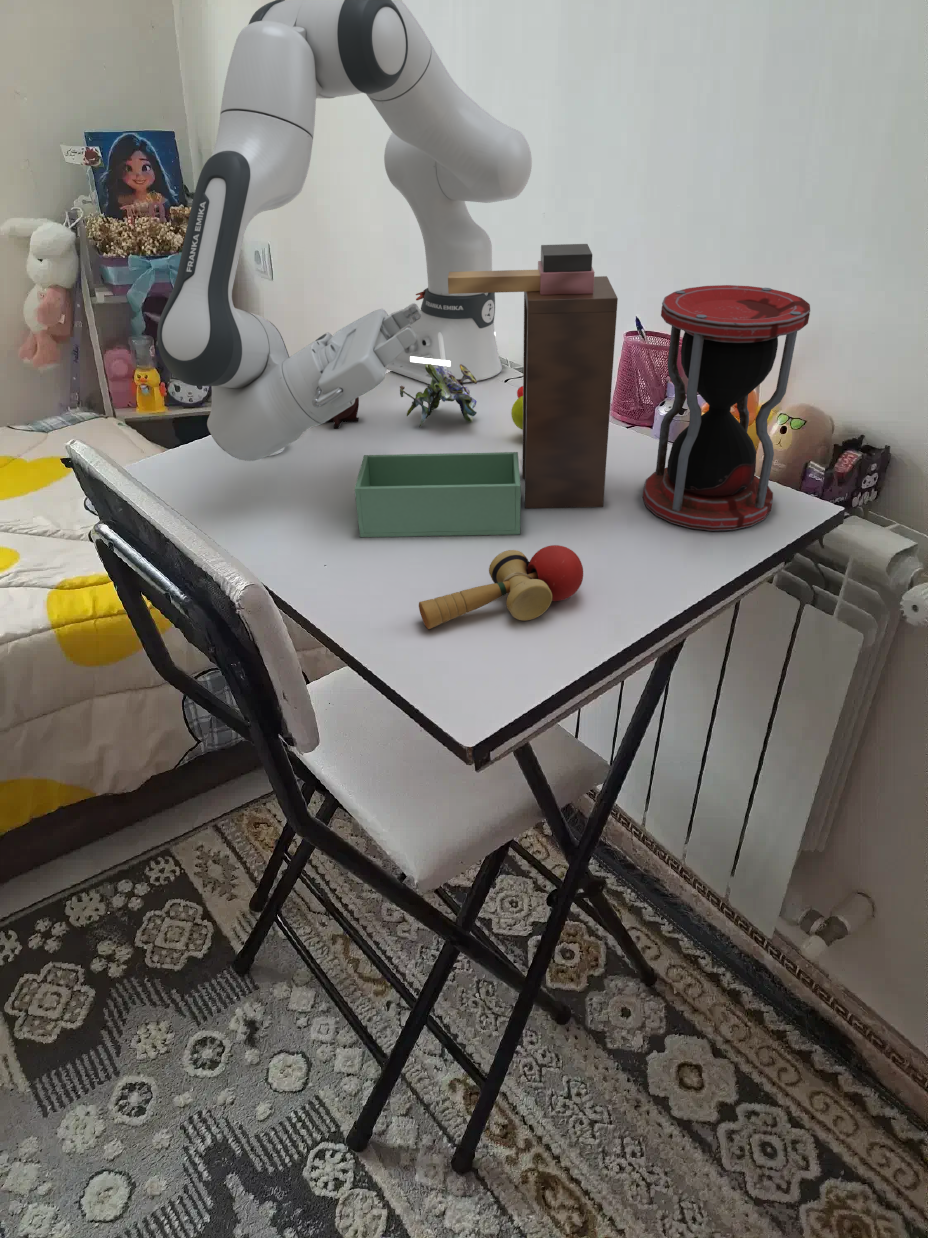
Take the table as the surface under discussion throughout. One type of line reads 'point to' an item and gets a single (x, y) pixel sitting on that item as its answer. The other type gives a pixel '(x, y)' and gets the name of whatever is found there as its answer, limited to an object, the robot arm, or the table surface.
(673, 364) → the hourglass
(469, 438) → the table surface
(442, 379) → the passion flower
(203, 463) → the table surface
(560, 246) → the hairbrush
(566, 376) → the shelf stand
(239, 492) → the table surface
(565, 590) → the kendama
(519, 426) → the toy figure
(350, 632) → the table surface
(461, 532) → the bin
